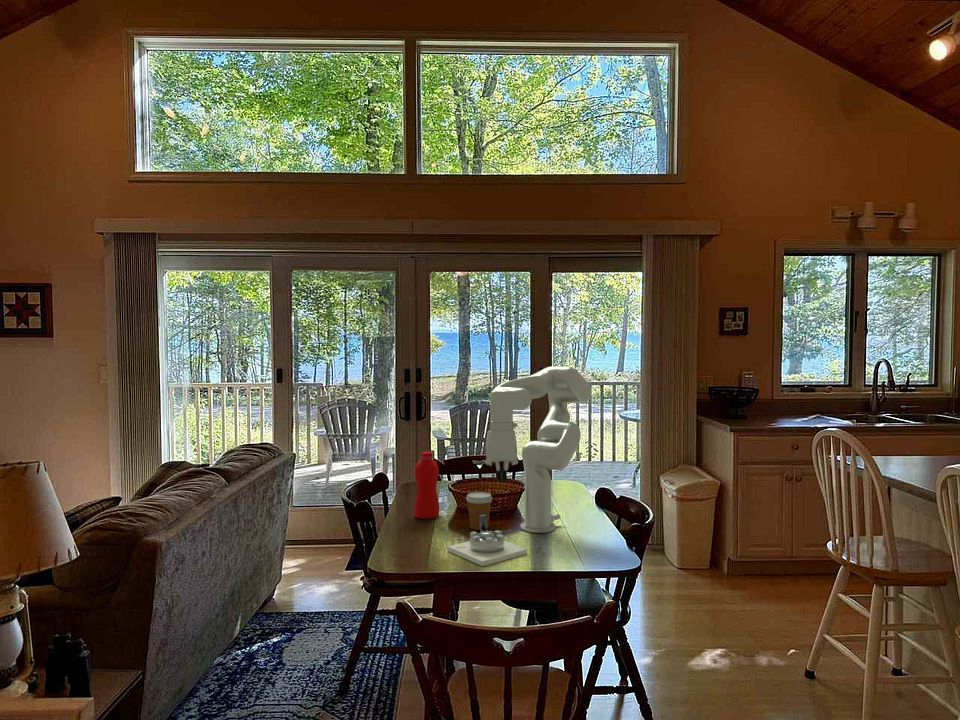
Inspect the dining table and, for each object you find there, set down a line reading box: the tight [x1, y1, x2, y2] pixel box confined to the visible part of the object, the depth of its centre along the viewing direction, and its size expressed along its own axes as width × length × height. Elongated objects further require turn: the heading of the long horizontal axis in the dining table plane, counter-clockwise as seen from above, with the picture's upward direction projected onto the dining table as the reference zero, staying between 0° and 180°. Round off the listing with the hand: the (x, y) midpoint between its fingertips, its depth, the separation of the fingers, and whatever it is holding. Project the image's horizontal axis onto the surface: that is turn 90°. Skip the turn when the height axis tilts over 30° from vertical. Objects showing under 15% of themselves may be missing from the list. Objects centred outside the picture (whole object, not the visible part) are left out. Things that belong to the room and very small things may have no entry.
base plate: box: [447, 540, 528, 567], centre depth 204 cm, size 18×18×2 cm
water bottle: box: [414, 451, 440, 520], centre depth 246 cm, size 9×11×25 cm
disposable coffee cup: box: [465, 491, 493, 531], centre depth 231 cm, size 10×10×12 cm
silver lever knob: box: [469, 515, 505, 553], centre depth 205 cm, size 15×11×8 cm
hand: (501, 481), depth 210 cm, fingers closed
